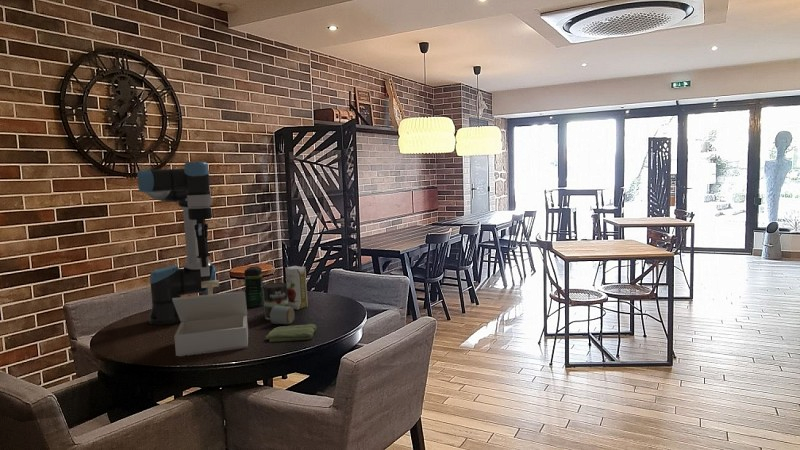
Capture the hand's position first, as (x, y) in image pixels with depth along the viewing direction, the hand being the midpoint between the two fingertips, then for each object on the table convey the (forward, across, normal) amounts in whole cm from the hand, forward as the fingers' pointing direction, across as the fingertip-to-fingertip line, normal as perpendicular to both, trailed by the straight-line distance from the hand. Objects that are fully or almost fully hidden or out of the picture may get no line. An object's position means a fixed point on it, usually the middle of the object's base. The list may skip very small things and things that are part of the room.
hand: (205, 275), depth 177 cm
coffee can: (+28, -41, +24) cm, 55 cm away
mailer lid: (+15, -14, 0) cm, 20 cm away
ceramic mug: (+28, -30, +26) cm, 49 cm away
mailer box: (+28, -12, 0) cm, 31 cm away
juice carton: (+28, -53, +34) cm, 69 cm away
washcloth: (+29, -11, +28) cm, 42 cm away
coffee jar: (+28, -66, +15) cm, 73 cm away
